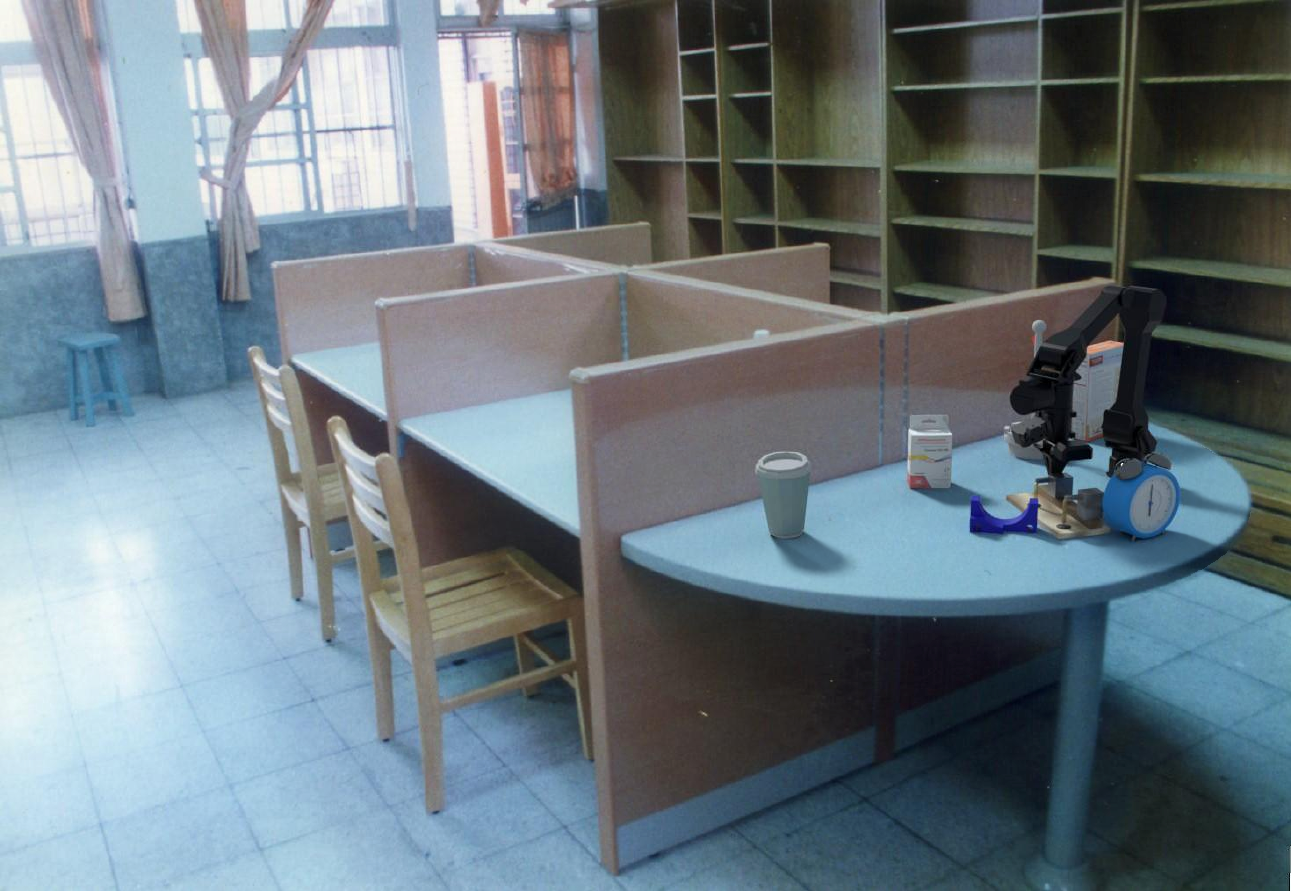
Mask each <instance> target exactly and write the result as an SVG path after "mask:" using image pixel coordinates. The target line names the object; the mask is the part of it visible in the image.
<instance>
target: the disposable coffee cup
mask: <svg viewBox="0 0 1291 891" xmlns="http://www.w3.org/2000/svg"><path fill="white" fill-rule="evenodd" d="M754 471H755V475H757V478H758V483H759V489H760V494H761V498H762V504H763V507H764V508H763V509H764V513H765V518H766V523H767V527H768V532H769V533H770V536H771V535H773V536H775V537H777V538H776V539H782V540H787V539H794V538H797V537H800V536H801V535H803V533H804V530H805V522H806V514H807V513H806V512H807V505H808V497H809V487H810V486H809V485H810V478H811V472H812V471H813V470H812V466H811V462H810V461H809V460H808V457H807V456H806V455H804V454H803V453H801V452H796V451H786V450H784V451H772V452H771V453H768V454H765V455H763V456H762V457H761V458H760V459H758V461H757V463H756V464H755V470H754ZM773 536H772V537H773ZM775 537H774V538H775Z"/></svg>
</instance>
